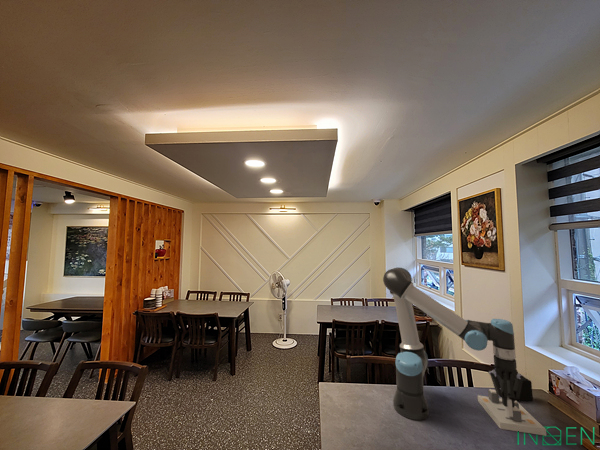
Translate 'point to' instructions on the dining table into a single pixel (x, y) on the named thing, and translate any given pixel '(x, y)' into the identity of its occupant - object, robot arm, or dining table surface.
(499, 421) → the switch unit
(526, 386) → the electronic device
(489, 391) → the slider far
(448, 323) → the robot arm
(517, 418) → the slider near
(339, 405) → the dining table surface
